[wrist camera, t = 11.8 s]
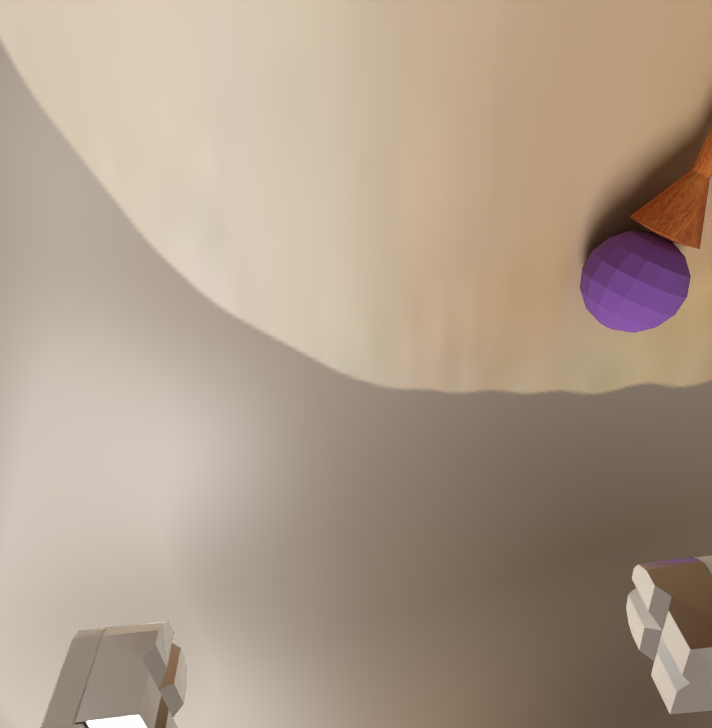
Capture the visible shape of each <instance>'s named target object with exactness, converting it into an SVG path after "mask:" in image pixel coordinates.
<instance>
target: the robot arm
mask: <svg viewBox="0 0 712 728" xmlns="http://www.w3.org/2000/svg"><path fill="white" fill-rule="evenodd" d="M632 580H633V582H634V584H635V586H636V588H635V589H634V590H633V591H632V592H631V593H630V594H629V595H628V600H627V606H626V608H627V616H628V623H629V626H630V629H631V632H632V635H633V638H634V640H635V642H636V644H637V646H638V648H639V650H640V651H641V652H642V653H644V654H645V655H646V656H648V657H649V658H650V659H652V660H653V661H654V665H653V669H652V674H651V676H652V678H653V680H654V682H655V684H656V686H657V688H658V690H659V692H660V694H661V696H662V698H663V700H664V703H665V705H666V707H667V709H668V711H669V713H670V714H677V713H688V712H699V711H710V710H712V556H705V557H699V558H693V557H690V558H682V559H675V560H668V561H660V562H653V563H645V564H638V565H637V566H636V567H635V568H634V570H633V575H632ZM173 635H174V632H173V630H172V628H171V626H170V624H169V622H157V623H147V624H137V625H128V626H119V627H106V628H97V629H90V630H81V631H78V633H77V634H76V636H75V637H74V638H73V640H72V641H71V644H70V647H69V650H68V652H67V655H66V658H65V661H64V664H63V666H62V669H61V672H60V675H59V677H58V680H57V683H56V686H55V688H54V691H53V694H52V697H51V700H50V702H49V705H48V708H47V711H46V714H45V716H44V719H43V722H42V725H41V727H40V728H177V726H176V723H175V721H174V719H173V717H174V715H175V714H176V713H177V712H178V710H179V709H180V707H182V705H183V704H184V698H185V692H186V664H185V658H184V655H183V652H182V650H181V648H180V647H178V646H176V645H174V644H173V643H172V640H173Z"/></svg>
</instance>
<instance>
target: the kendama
mask: <svg viewBox="0 0 712 728" xmlns="http://www.w3.org/2000/svg"><path fill="white" fill-rule="evenodd" d="M711 176H712V127H711V129H710V131H709V133H708V135H707V137H706V139H705V141H704V144H703V146H702V148H701V150H700V152H699V154H698V156H697V158H696V160H695V162H694V164H693V166H692V169H691V170H690V171H689V172H688V173H686V174H685V175H684V176H682V177H681V178H680V179H678V180H677V181H676V182H675V183H673V184H672V185H671V186H669V187H668V188H667V189H665V190H664V191H663V192H661V193H660V194H659V195H657V196H656V197H655V198H653V199H652V200H651V201H649V202H648V203H647V204H645V205H644V206H643V207H641V208H640V209H639V210H637V211H636V212H635V213H633V214H632V215H631V216H630V217H631V218H632V219H634V220H635V221H637V222H638V223H639V224H641V225H642V226H644V227H645V228H647V229H648V230H649V231H651V232H642V231H628V232H625V233H622V234H619V235H615V236H612V237H609V238H608V239H607V240H605V241H604V242H603V243H602V244H600V245H599V246H598V247H597V248H595V249H594V250H593V251H592V252H591V254H590V256H589V258H588V259H587V261H586V263H585V265H584V266H583V268H582V276H581V284H580V289H581V293H582V296H583V300H584V303H585V306H586V308H587V310H588V311H589V312H590V313H591V314H592V315H593V316H594V317H595V318H596V319H597V320H598V321H599V322H600V323H601V324H603V325H604V326H606V327H608V328H611V329H614V330H620V331H627V332H633V333H634V332H639V331H643V330H647V329H651V328H655V327H657V326H659V325H660V324H662V323H663V322H665V321H666V320H668V319H669V318H671V317H672V316H674V315H675V314H676V312H677V311H678V309H679V308H680V306H681V305H682V303H683V302H684V300H685V299H686V297H687V294H688V288H689V282H690V277H691V276H690V273H689V269H688V266H687V262H686V258H685V256H684V255H683V254H682V253H681V252H680V250H679V249H678V248H677V247H676V246H675V245H674V244H673V242H676V243H680V244H683V245H687V246H691V247H694V248H699V249H700V244H701V237H702V230H703V222H704V215H705V208H706V201H707V194H708V187H709V180H710V177H711Z"/></svg>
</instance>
